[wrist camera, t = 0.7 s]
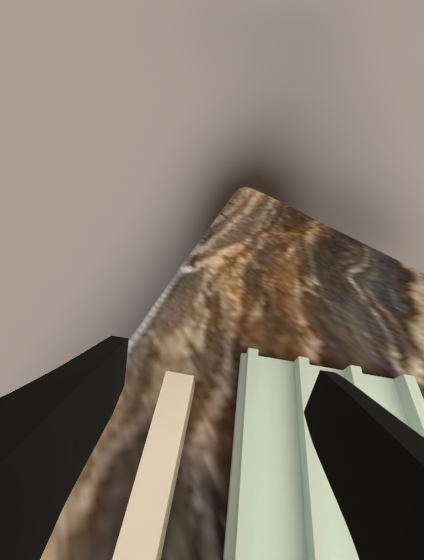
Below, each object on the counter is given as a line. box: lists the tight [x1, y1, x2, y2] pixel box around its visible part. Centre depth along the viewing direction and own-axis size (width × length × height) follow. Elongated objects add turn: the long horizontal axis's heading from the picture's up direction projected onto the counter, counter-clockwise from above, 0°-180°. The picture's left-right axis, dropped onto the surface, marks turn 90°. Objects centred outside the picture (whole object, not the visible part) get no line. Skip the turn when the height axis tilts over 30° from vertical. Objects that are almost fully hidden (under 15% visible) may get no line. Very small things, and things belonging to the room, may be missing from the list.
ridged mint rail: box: [223, 348, 424, 560], centre depth 18 cm, size 18×17×2 cm
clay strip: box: [112, 371, 195, 560], centre depth 17 cm, size 14×2×4 cm, turn 171°
